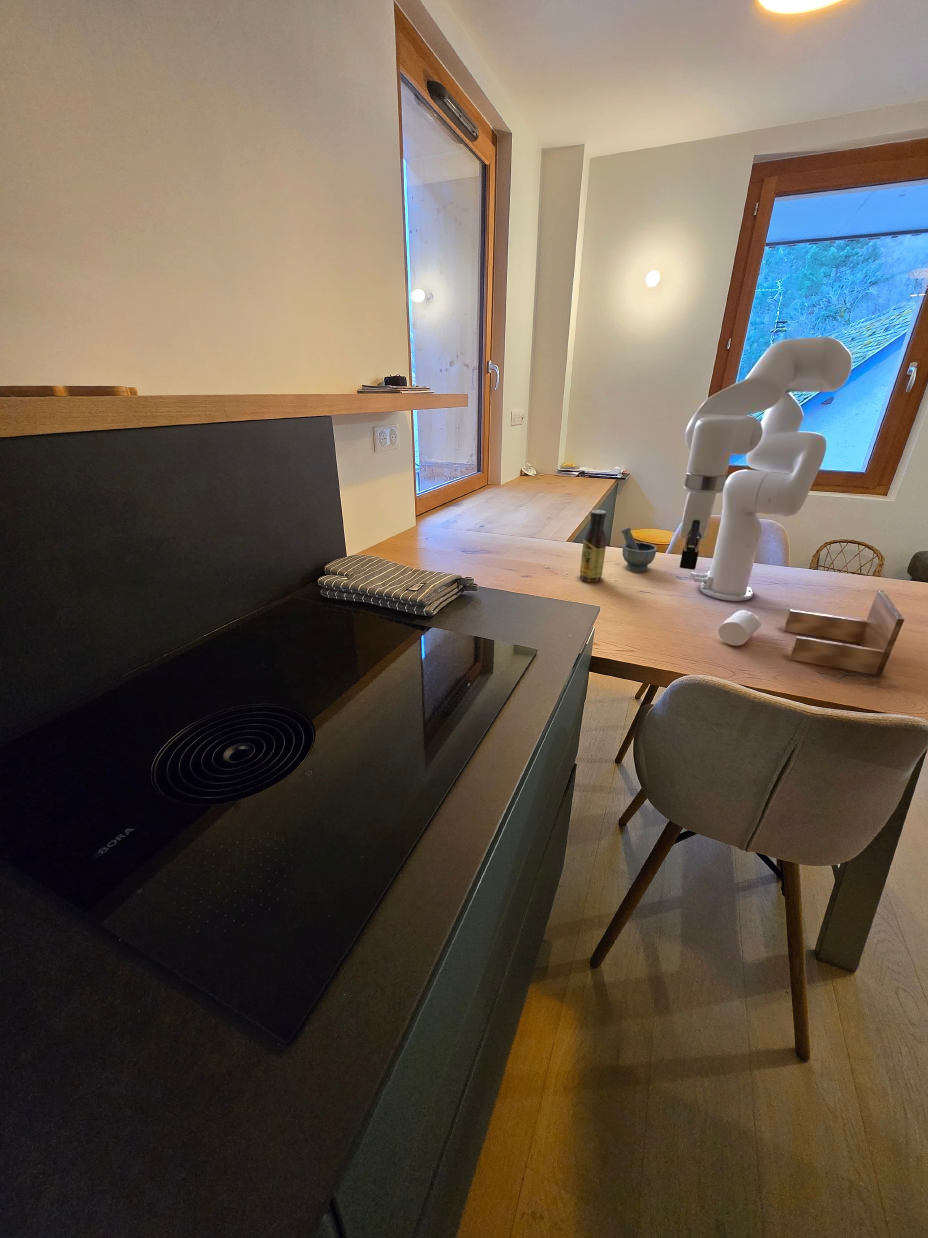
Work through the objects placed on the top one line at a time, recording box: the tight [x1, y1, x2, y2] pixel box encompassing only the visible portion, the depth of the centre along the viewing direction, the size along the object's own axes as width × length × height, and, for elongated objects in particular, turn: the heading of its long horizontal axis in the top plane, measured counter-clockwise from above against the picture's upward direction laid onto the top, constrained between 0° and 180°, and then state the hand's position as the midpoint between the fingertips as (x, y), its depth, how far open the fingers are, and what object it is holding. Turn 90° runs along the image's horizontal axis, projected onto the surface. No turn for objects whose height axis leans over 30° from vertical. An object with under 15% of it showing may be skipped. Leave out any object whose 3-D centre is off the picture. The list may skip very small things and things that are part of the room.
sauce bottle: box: [579, 509, 608, 583], centre depth 137 cm, size 6×6×20 cm
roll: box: [717, 609, 762, 647], centre depth 108 cm, size 6×12×6 cm, turn 135°
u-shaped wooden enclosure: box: [783, 589, 905, 677], centre depth 100 cm, size 15×15×12 cm
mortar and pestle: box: [620, 526, 658, 573], centre depth 147 cm, size 11×9×12 cm
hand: (687, 567), depth 108 cm, fingers closed
